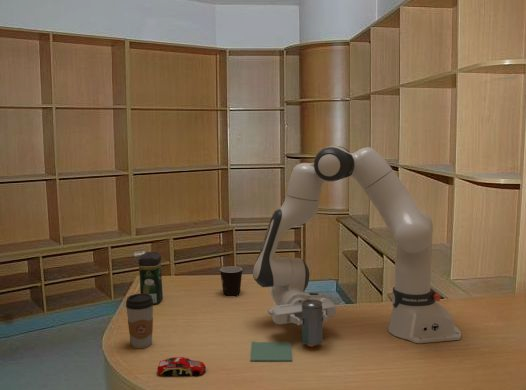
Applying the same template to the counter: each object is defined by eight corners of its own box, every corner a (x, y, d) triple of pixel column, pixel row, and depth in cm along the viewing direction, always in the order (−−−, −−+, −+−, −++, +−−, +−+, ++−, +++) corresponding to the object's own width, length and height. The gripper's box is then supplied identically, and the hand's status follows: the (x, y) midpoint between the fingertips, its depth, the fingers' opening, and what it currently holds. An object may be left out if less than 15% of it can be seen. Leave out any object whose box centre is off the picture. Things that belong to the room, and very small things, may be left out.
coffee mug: (239, 298, 208) (239, 273, 206) (217, 297, 210) (217, 272, 208) (246, 288, 219) (246, 264, 218) (225, 287, 221) (225, 263, 219)
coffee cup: (128, 351, 163) (125, 303, 161) (127, 340, 171) (124, 294, 169) (156, 348, 166) (154, 300, 163) (154, 337, 173) (152, 291, 171)
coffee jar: (143, 296, 211) (141, 250, 208) (164, 296, 211) (162, 249, 208) (138, 305, 201) (135, 257, 198) (159, 305, 201) (157, 256, 198)
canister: (320, 336, 168) (320, 299, 166) (322, 344, 162) (322, 306, 161) (301, 336, 168) (301, 299, 167) (302, 345, 162) (302, 306, 161)
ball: (315, 344, 167) (315, 335, 167) (316, 348, 164) (316, 339, 164) (305, 344, 167) (305, 335, 167) (306, 348, 164) (306, 339, 164)
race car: (207, 368, 153) (206, 354, 153) (204, 377, 148) (204, 363, 147) (160, 368, 153) (159, 354, 153) (156, 377, 148) (155, 363, 147)
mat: (290, 343, 168) (290, 342, 168) (292, 361, 156) (292, 359, 156) (251, 343, 168) (251, 342, 168) (250, 361, 156) (250, 360, 156)
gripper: (265, 300, 173) (280, 315, 160) (325, 292, 179) (343, 306, 166) (266, 319, 174) (280, 335, 161) (325, 310, 180) (343, 326, 167)
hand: (313, 320), depth 164 cm, fingers closed on canister, 6 cm apart
